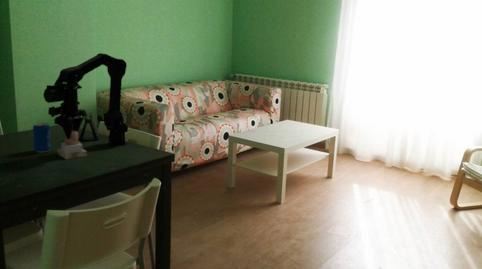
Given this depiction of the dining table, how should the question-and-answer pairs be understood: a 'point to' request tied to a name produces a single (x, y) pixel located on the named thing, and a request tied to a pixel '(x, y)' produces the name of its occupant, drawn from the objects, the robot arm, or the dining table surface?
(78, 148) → the tower top
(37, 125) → the beverage can
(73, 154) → the tower base
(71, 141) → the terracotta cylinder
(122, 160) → the dining table surface
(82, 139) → the phone stand
